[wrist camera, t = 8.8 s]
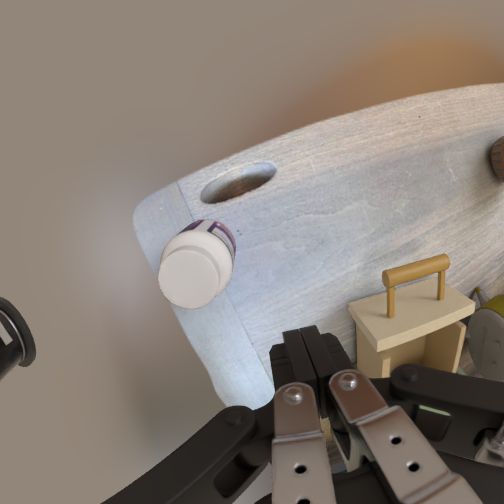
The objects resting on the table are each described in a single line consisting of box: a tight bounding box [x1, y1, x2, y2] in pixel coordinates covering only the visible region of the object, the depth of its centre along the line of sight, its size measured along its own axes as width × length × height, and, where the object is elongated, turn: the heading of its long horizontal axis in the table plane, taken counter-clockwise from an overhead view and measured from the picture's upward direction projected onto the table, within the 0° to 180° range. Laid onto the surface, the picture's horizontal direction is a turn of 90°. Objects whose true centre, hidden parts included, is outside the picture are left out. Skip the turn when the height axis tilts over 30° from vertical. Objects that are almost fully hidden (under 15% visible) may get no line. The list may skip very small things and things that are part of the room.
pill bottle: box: [158, 219, 236, 309], centre depth 22 cm, size 5×5×10 cm
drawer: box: [348, 254, 475, 378], centre depth 24 cm, size 18×11×8 cm, turn 12°
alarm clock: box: [464, 287, 504, 382], centre depth 22 cm, size 12×7×15 cm, turn 23°
